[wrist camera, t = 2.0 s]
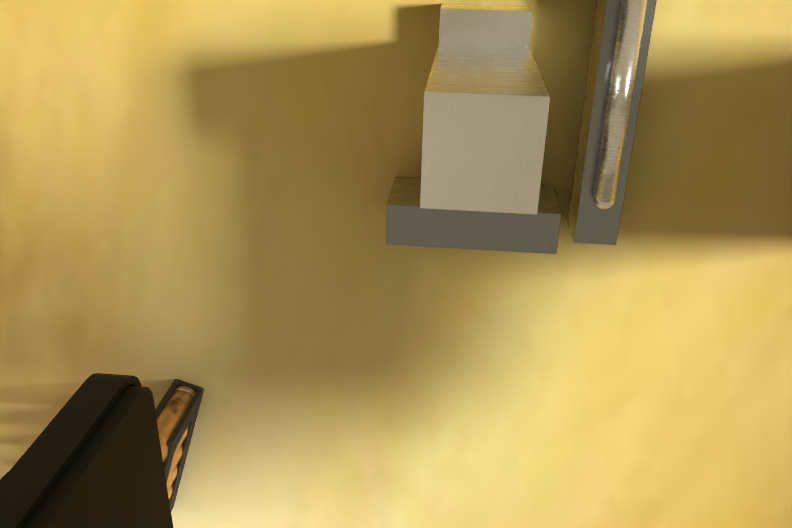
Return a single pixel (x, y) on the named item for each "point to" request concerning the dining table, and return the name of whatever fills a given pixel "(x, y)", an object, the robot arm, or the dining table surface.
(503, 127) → the steel post
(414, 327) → the dining table surface
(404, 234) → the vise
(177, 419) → the ammunition clip
